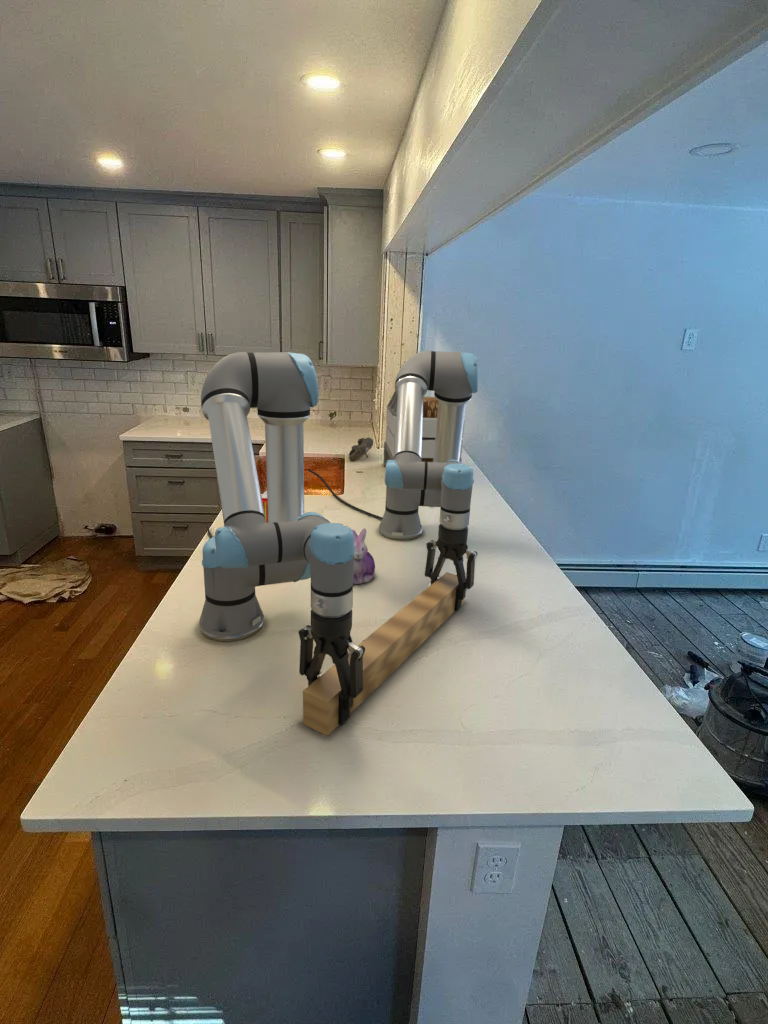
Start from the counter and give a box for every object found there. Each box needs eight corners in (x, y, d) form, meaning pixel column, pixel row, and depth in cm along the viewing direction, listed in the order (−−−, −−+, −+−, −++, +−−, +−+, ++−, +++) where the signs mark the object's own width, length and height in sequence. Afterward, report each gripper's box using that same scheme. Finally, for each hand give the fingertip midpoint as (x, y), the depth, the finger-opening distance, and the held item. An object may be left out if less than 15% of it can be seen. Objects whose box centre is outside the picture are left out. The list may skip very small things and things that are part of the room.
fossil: (348, 443, 308) (370, 428, 303) (359, 457, 311) (381, 442, 306) (342, 457, 289) (365, 441, 284) (354, 472, 292) (377, 456, 287)
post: (444, 596, 157) (446, 571, 155) (463, 602, 155) (466, 577, 152) (303, 724, 107) (302, 690, 105) (327, 736, 105) (327, 701, 102)
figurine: (352, 587, 160) (354, 538, 155) (338, 573, 168) (339, 526, 163) (382, 582, 164) (384, 534, 159) (367, 567, 172) (369, 521, 167)
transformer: (382, 463, 289) (386, 382, 275) (445, 464, 293) (451, 384, 279) (390, 482, 257) (394, 392, 243) (460, 483, 261) (468, 394, 247)
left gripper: (277, 602, 103) (280, 706, 111) (363, 634, 94) (359, 745, 102) (303, 586, 109) (304, 686, 117) (387, 615, 100) (381, 722, 108)
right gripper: (414, 521, 146) (409, 601, 153) (482, 538, 137) (473, 622, 144) (427, 513, 152) (422, 590, 160) (494, 529, 143) (484, 610, 151)
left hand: (330, 714), depth 110 cm, fingers closed on post, 6 cm apart
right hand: (446, 605), depth 152 cm, fingers closed on post, 6 cm apart
